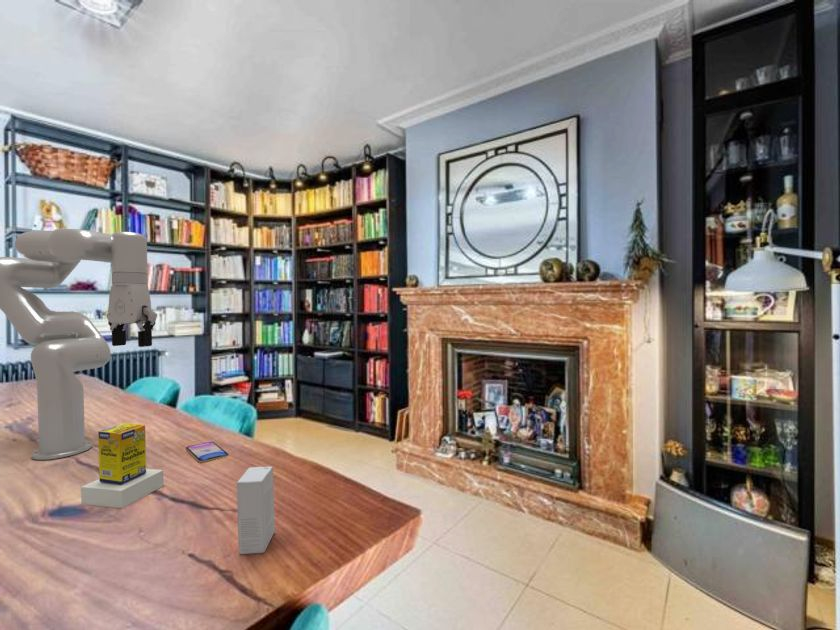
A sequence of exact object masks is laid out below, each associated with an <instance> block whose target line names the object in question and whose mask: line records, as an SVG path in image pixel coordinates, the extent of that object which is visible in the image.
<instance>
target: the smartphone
mask: <svg viewBox="0 0 840 630" xmlns="http://www.w3.org/2000/svg"><path fill="white" fill-rule="evenodd" d="M185 450H186V452H187V453H188V454H189V455H190V456H192V458H193V459H194V460H195V461H196V462H197V463H198V464H205V463H208V462H212V461H216V459H217V460H220V458H221V459H224V458H223V457H225V458H227V457H226V456H228V455H229V453H228V452H227V451H226V450H224V449H223V448H222V447H221V446H219V445H218V444H217V443H215V441H207V442H202V443H198V444H197V443H196V444H193V445H188V446H186V447H185ZM229 456H230V455H229ZM229 456H228V457H229Z"/></svg>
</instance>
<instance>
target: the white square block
mask: <svg viewBox="0 0 840 630" xmlns="http://www.w3.org/2000/svg"><path fill="white" fill-rule="evenodd" d="M164 482H165V481H164V469H154V468H153V469H152V468H146V473H145V474H143V475H140V476H138V477H136V478H134V479H132V480H130V481H127V482H125V483H124V484H122V485H118V484H112V483H105V482H100V479H99V478H98V479H96V480H94V481H91V482H89V483H87V484H85V485H82V486H81V487H80V499H81V501H80V502H81V505H87V506H97V507H105V508H106V507H107V508H116V509H124V508H126V507H127V506H129V505H131V504H133V503H135V502H137V501H138V500H141V499H142V498H144V497H145V496H147V495H149V494H152V493H153V492H155V491H156V490H159V489H161V488H162V487H164V485H165V484H164Z"/></svg>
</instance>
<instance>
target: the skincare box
mask: <svg viewBox="0 0 840 630" xmlns="http://www.w3.org/2000/svg"><path fill="white" fill-rule="evenodd" d="M274 492H275V490H274V467H273V466H253V467H251V466H250V467H248V468H247V470H246V471H245V472H244V473H243V475H241V477H240V478H239V480H238V481H237V482H236V504H237V506H236V508H237V509H236V510H237V538H238V555H249V554H264V553H265V552H266V551H267V548H268V546H269V544H270V542H271V539H272V538H273V536H274V533H275V500H274V499H275V498H274Z"/></svg>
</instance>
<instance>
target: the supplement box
mask: <svg viewBox="0 0 840 630" xmlns="http://www.w3.org/2000/svg"><path fill="white" fill-rule="evenodd" d="M97 436H98V437H97V438H98V439H97V440H98V475H99V478H98V479H100V482H105V483H112V484H118V485H122V484H124V483H125V482H127V481H130V480H132V479H134V478H136V477H138V476H140V475H143V474H145V473H146V469H147V451H146V449H147V446H146V425H145V424H140V423H139V424H138V423H130V422H123V423H121V424H118V425H115V426H112V427H109V428H106V429H101V430H98V431H97Z"/></svg>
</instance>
